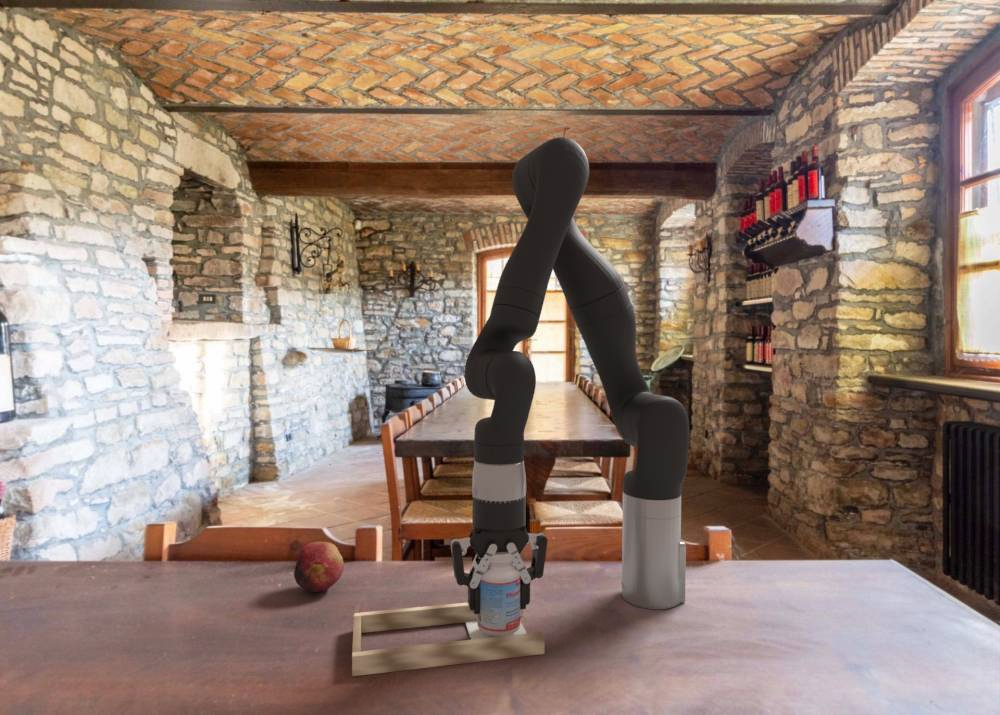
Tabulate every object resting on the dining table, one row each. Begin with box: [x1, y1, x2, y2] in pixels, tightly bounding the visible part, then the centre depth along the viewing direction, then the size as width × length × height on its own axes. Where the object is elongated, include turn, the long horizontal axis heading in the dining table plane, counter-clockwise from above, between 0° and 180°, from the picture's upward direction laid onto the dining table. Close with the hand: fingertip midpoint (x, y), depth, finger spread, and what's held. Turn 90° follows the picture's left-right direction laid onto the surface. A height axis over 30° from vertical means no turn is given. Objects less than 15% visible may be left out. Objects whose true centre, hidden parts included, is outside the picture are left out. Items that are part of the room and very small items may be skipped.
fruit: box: [293, 541, 345, 593], centre depth 99 cm, size 8×8×8 cm
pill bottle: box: [477, 551, 521, 636], centre depth 84 cm, size 6×6×11 cm
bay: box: [351, 601, 546, 677], centre depth 82 cm, size 25×12×2 cm, turn 103°
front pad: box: [464, 621, 527, 640], centre depth 84 cm, size 8×9×1 cm
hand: (498, 608), depth 84 cm, fingers closed on pill bottle, 6 cm apart
